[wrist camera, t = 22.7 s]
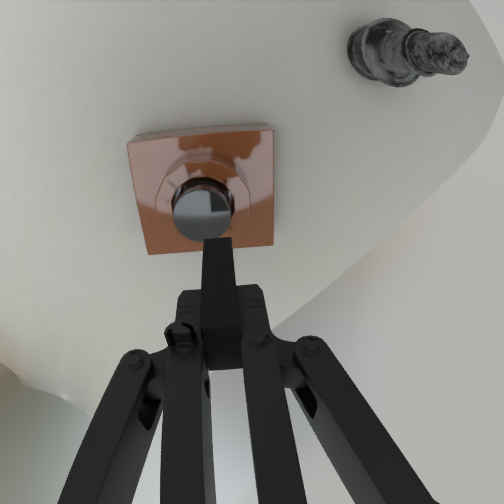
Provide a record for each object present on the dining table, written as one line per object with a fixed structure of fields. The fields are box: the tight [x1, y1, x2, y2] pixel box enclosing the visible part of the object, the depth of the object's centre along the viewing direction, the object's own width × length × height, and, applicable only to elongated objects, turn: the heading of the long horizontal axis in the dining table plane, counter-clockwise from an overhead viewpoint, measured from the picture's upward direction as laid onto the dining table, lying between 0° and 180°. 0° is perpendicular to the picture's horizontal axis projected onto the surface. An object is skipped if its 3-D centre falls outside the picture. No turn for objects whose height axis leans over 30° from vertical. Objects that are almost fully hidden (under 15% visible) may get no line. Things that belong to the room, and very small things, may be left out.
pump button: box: [173, 180, 231, 242], centre depth 21 cm, size 4×4×2 cm
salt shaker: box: [347, 18, 469, 87], centre depth 16 cm, size 6×6×12 cm
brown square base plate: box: [127, 124, 274, 255], centre depth 24 cm, size 11×10×5 cm
